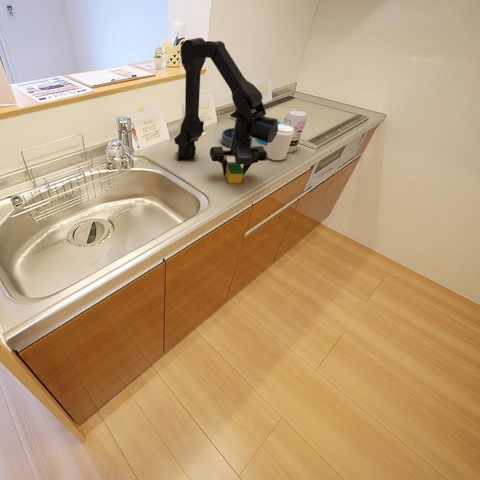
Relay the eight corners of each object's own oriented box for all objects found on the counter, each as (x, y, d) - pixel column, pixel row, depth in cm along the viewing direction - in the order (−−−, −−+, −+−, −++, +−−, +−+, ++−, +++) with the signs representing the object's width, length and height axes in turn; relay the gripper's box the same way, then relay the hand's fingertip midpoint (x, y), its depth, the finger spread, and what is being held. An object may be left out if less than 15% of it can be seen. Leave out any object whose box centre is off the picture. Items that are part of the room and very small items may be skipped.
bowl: (224, 149, 118) (225, 140, 115) (218, 136, 127) (219, 128, 125) (254, 149, 118) (256, 140, 115) (246, 136, 128) (248, 127, 125)
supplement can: (279, 143, 122) (290, 107, 112) (298, 148, 118) (311, 112, 108) (272, 149, 118) (283, 113, 107) (291, 155, 114) (304, 118, 104)
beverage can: (289, 159, 111) (299, 130, 103) (273, 163, 109) (282, 133, 101) (276, 151, 117) (285, 122, 108) (260, 154, 115) (268, 125, 106)
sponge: (241, 182, 98) (243, 171, 95) (228, 183, 98) (231, 171, 95) (236, 173, 103) (239, 162, 100) (224, 173, 103) (227, 162, 100)
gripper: (218, 144, 83) (211, 187, 94) (278, 143, 84) (265, 187, 95) (212, 129, 91) (206, 171, 102) (267, 129, 92) (256, 170, 103)
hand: (233, 175), depth 100 cm, fingers open, 6 cm apart
